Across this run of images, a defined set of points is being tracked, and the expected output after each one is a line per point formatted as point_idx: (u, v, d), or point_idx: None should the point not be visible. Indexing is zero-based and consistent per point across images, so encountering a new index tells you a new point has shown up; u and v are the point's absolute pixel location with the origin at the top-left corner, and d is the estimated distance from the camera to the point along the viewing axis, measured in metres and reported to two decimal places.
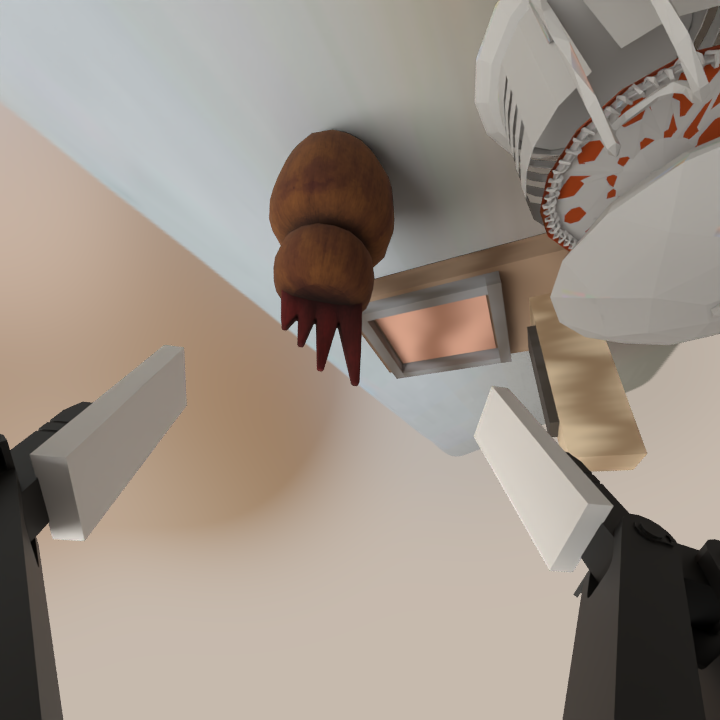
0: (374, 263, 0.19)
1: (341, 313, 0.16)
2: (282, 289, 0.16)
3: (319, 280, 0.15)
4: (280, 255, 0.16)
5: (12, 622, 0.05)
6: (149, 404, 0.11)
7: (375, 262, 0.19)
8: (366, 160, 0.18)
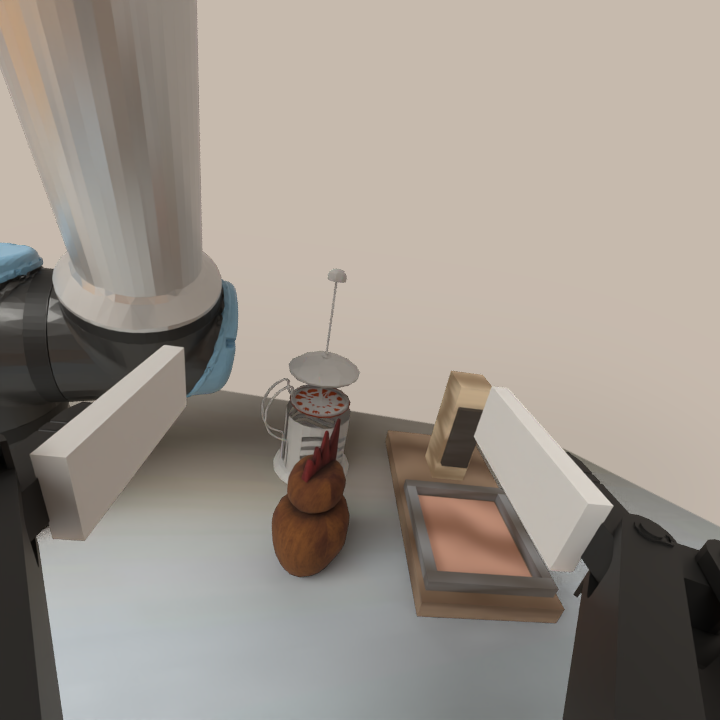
0: None
1: None
2: (301, 478, 0.28)
3: (303, 460, 0.29)
4: (288, 484, 0.28)
5: (12, 622, 0.05)
6: (149, 404, 0.11)
7: None
8: None
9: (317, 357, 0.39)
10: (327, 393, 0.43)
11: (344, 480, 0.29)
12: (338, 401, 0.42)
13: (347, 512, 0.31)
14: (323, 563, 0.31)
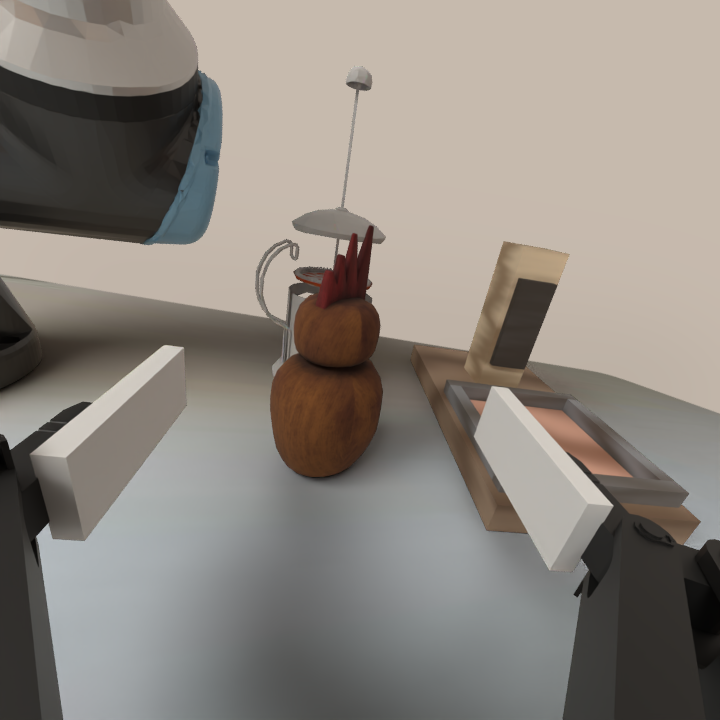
0: None
1: None
2: (315, 305, 0.18)
3: None
4: (295, 321, 0.19)
5: (13, 621, 0.05)
6: (149, 404, 0.11)
7: None
8: None
9: (330, 210, 0.29)
10: None
11: (379, 323, 0.20)
12: None
13: (380, 384, 0.21)
14: (346, 455, 0.21)
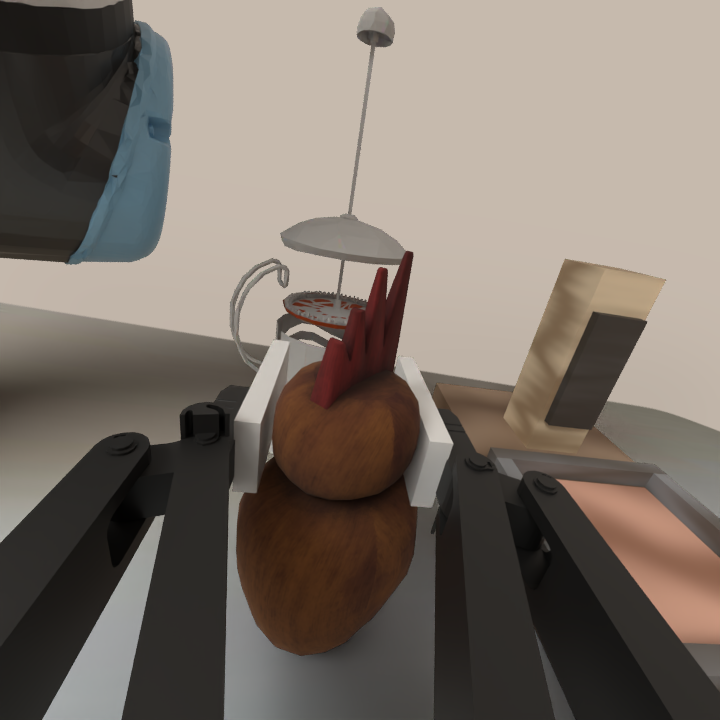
0: None
1: None
2: (309, 398, 0.10)
3: (313, 365, 0.12)
4: (275, 420, 0.10)
5: (215, 561, 0.06)
6: (278, 388, 0.14)
7: None
8: None
9: (333, 218, 0.21)
10: (347, 305, 0.25)
11: (419, 417, 0.12)
12: None
13: None
14: (360, 624, 0.13)
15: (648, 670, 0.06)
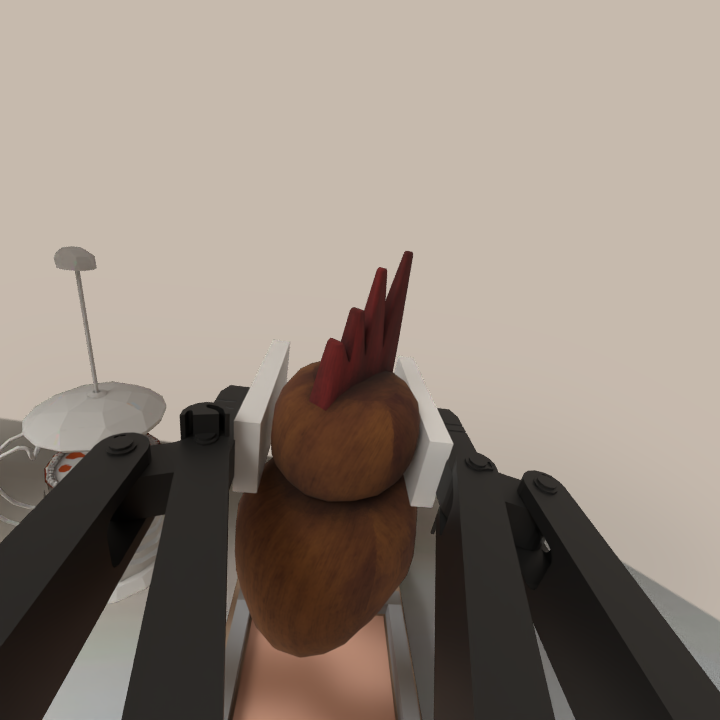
0: None
1: None
2: (308, 399, 0.10)
3: (312, 365, 0.11)
4: (273, 421, 0.10)
5: (215, 561, 0.06)
6: (278, 388, 0.14)
7: None
8: None
9: (79, 396, 0.23)
10: None
11: (418, 417, 0.11)
12: None
13: None
14: (359, 626, 0.13)
15: (648, 670, 0.06)
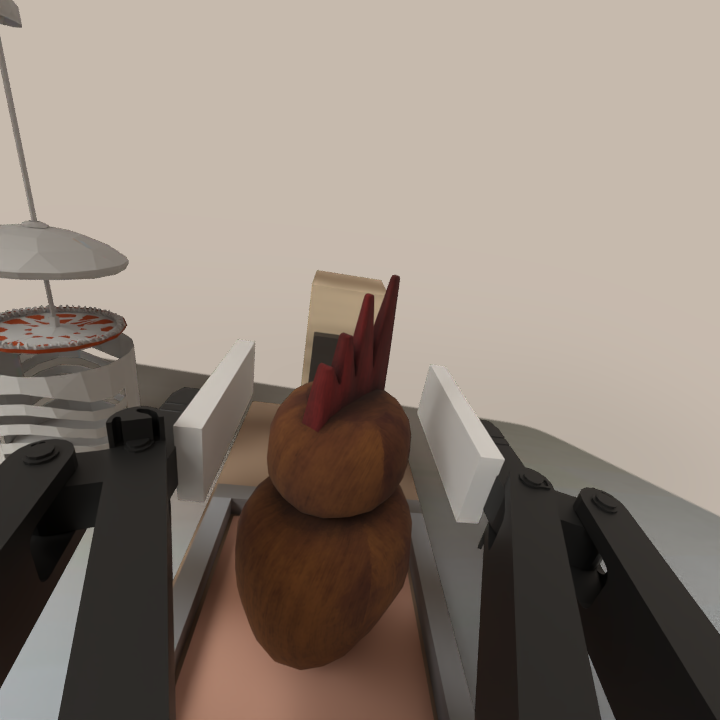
0: None
1: None
2: (301, 421, 0.10)
3: (306, 386, 0.12)
4: (269, 442, 0.11)
5: (154, 572, 0.06)
6: (237, 390, 0.13)
7: None
8: None
9: (11, 225, 0.18)
10: (90, 321, 0.23)
11: (409, 434, 0.12)
12: (99, 332, 0.22)
13: (409, 515, 0.14)
14: (357, 638, 0.13)
15: (711, 699, 0.06)
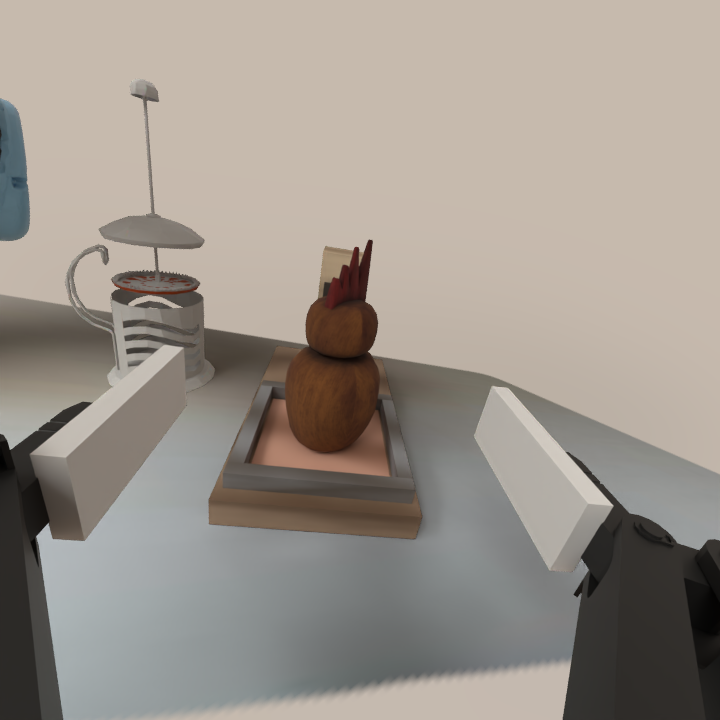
0: None
1: None
2: (324, 306, 0.22)
3: (324, 296, 0.23)
4: (307, 319, 0.22)
5: (12, 621, 0.05)
6: (149, 404, 0.11)
7: None
8: None
9: (140, 216, 0.30)
10: (175, 280, 0.35)
11: (376, 321, 0.23)
12: (184, 286, 0.33)
13: (378, 372, 0.25)
14: (349, 432, 0.25)
15: None
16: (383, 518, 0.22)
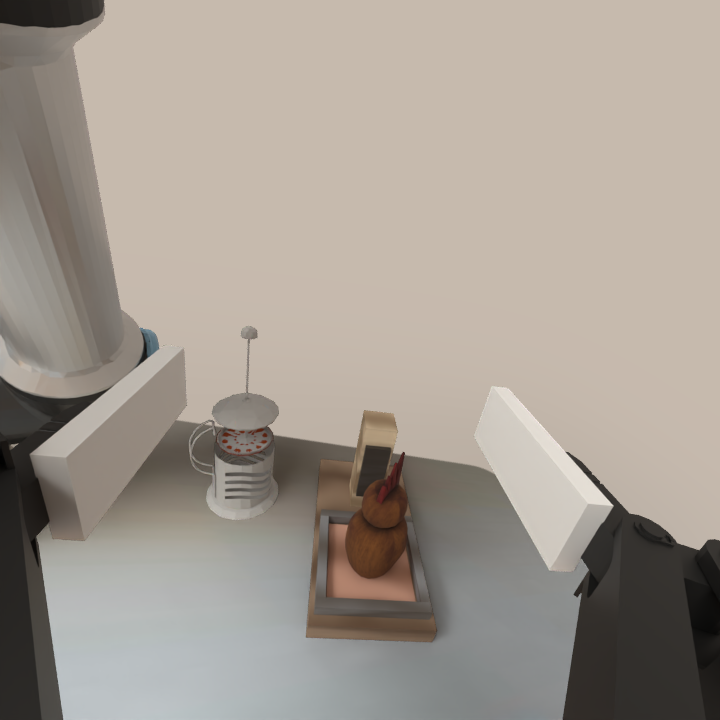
0: None
1: None
2: (375, 500, 0.35)
3: (374, 485, 0.37)
4: (364, 505, 0.36)
5: (12, 622, 0.05)
6: (149, 404, 0.11)
7: None
8: None
9: (238, 401, 0.43)
10: (254, 430, 0.48)
11: (407, 501, 0.37)
12: (263, 438, 0.47)
13: (406, 526, 0.39)
14: (388, 567, 0.38)
15: None
16: (412, 632, 0.35)
